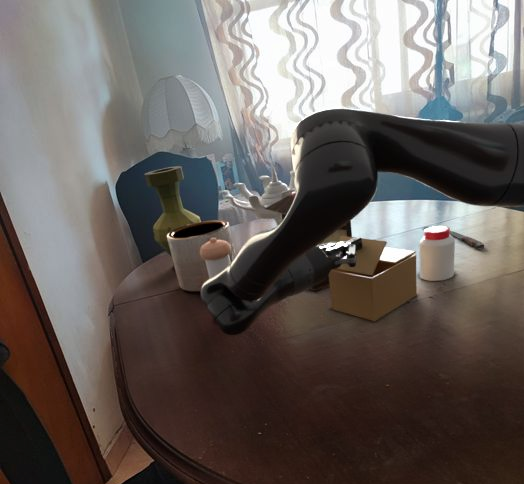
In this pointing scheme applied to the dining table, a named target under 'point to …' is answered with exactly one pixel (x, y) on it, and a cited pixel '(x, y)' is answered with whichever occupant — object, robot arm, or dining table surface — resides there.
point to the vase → (169, 204)
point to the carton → (375, 286)
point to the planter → (196, 251)
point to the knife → (466, 239)
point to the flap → (365, 256)
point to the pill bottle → (436, 254)
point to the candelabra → (263, 197)
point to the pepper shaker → (216, 255)
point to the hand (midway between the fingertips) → (359, 242)
